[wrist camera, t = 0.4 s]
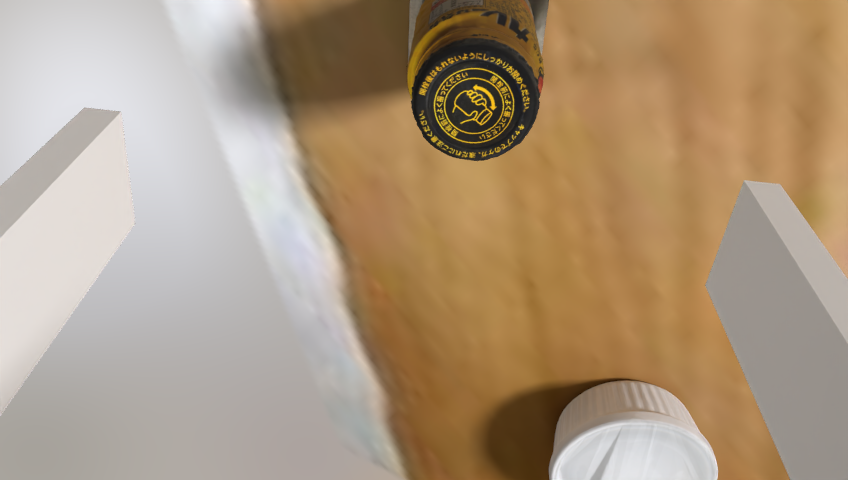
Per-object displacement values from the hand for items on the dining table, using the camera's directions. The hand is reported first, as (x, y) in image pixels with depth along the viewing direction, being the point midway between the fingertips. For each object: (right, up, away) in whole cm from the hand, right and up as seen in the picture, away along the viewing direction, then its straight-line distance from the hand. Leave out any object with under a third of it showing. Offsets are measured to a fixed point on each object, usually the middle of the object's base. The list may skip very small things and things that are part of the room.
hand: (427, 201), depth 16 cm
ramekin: (+14, -14, +40) cm, 45 cm away
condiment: (+3, +12, +24) cm, 27 cm away
